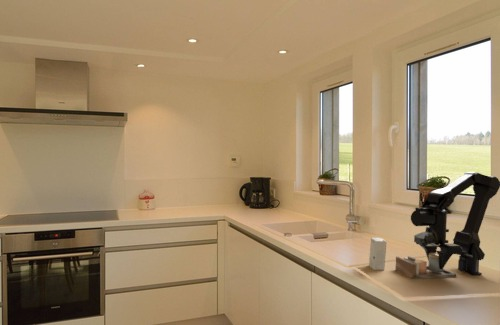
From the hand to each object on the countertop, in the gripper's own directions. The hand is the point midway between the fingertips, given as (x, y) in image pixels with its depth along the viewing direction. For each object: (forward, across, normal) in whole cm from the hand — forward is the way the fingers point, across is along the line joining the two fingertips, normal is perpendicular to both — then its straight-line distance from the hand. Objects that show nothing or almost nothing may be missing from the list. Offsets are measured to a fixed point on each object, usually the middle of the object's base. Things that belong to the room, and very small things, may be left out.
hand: (435, 266), depth 133 cm
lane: (+3, 0, -4) cm, 6 cm away
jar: (+2, 0, -7) cm, 8 cm away
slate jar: (+1, 0, 0) cm, 1 cm away
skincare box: (+4, -8, -20) cm, 21 cm away
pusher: (+2, 0, -11) cm, 11 cm away
